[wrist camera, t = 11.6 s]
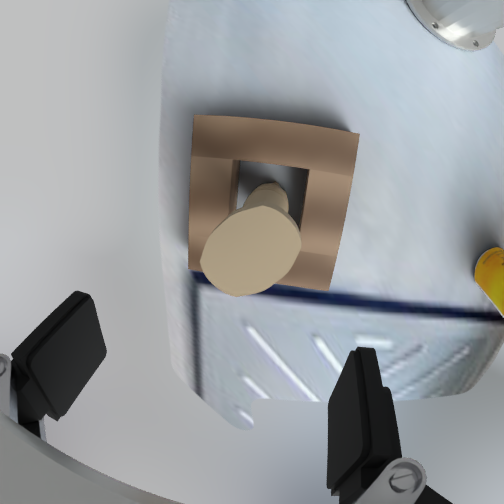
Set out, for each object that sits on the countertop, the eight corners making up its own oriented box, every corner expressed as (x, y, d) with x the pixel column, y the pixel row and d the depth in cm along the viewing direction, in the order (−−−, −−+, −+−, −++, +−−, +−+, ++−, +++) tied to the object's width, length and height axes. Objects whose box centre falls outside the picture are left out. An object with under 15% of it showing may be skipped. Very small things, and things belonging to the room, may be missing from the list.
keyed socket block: (206, 115, 29) (194, 114, 25) (351, 132, 27) (359, 133, 24) (199, 253, 35) (188, 269, 32) (325, 273, 34) (328, 291, 30)
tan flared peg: (234, 198, 32) (185, 257, 18) (278, 158, 30) (259, 188, 16) (264, 230, 33) (239, 309, 19) (309, 193, 30) (317, 251, 17)
